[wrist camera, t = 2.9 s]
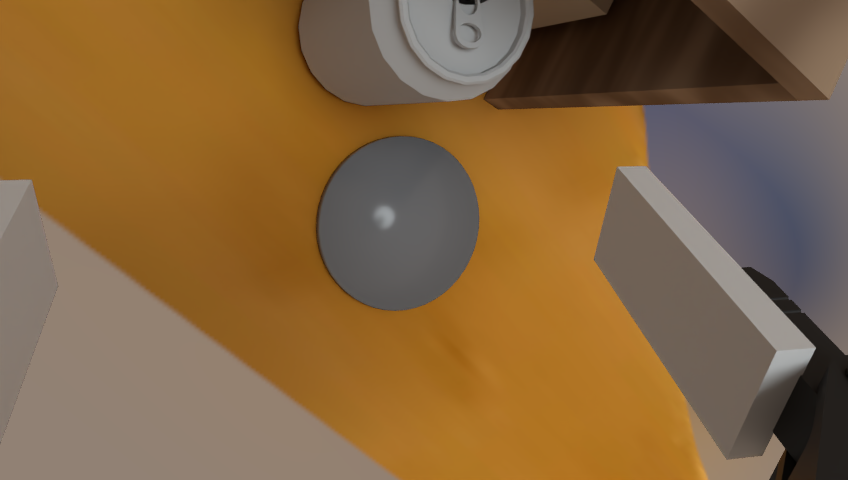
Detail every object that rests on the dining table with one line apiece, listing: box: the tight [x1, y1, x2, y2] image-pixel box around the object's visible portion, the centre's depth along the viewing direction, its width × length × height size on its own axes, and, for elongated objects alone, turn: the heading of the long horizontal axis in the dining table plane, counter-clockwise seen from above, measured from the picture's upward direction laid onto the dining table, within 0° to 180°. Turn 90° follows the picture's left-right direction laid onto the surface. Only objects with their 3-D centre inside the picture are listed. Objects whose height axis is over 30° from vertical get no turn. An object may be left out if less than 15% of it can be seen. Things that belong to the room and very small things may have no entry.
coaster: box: [316, 136, 479, 311], centre depth 42 cm, size 10×10×1 cm
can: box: [298, 0, 534, 106], centre depth 34 cm, size 8×8×12 cm
